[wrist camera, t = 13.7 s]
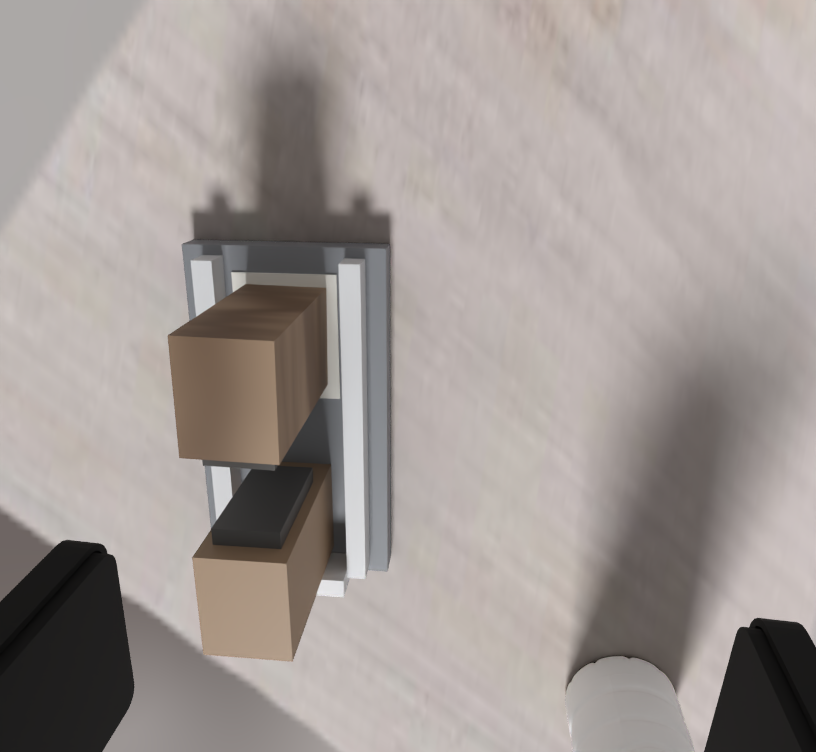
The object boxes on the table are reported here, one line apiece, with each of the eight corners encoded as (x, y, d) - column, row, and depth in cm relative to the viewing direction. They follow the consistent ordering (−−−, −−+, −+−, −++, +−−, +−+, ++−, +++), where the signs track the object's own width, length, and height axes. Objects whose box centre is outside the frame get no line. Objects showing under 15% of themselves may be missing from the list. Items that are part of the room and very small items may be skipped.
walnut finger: (326, 287, 34) (274, 341, 25) (327, 399, 36) (280, 483, 27) (245, 284, 34) (167, 335, 26) (251, 394, 36) (180, 476, 27)
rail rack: (193, 239, 35) (81, 282, 25) (389, 243, 34) (352, 290, 24) (223, 545, 41) (142, 676, 31) (390, 556, 40) (361, 694, 30)
